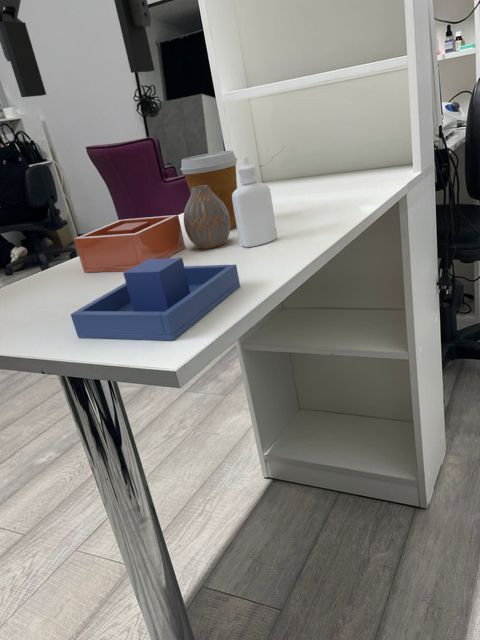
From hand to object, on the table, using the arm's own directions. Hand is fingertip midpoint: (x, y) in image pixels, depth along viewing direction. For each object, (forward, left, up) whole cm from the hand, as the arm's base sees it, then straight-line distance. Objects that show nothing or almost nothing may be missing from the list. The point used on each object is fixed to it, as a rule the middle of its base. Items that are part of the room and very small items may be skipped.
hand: (85, 85), depth 52 cm
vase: (-4, +24, -23) cm, 33 cm away
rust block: (-14, +18, -22) cm, 32 cm away
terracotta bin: (-14, +18, -23) cm, 32 cm away
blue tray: (+4, -2, -23) cm, 23 cm away
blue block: (+4, -2, -22) cm, 22 cm away
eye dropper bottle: (+4, +24, -23) cm, 33 cm away
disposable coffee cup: (-8, +35, -23) cm, 43 cm away
